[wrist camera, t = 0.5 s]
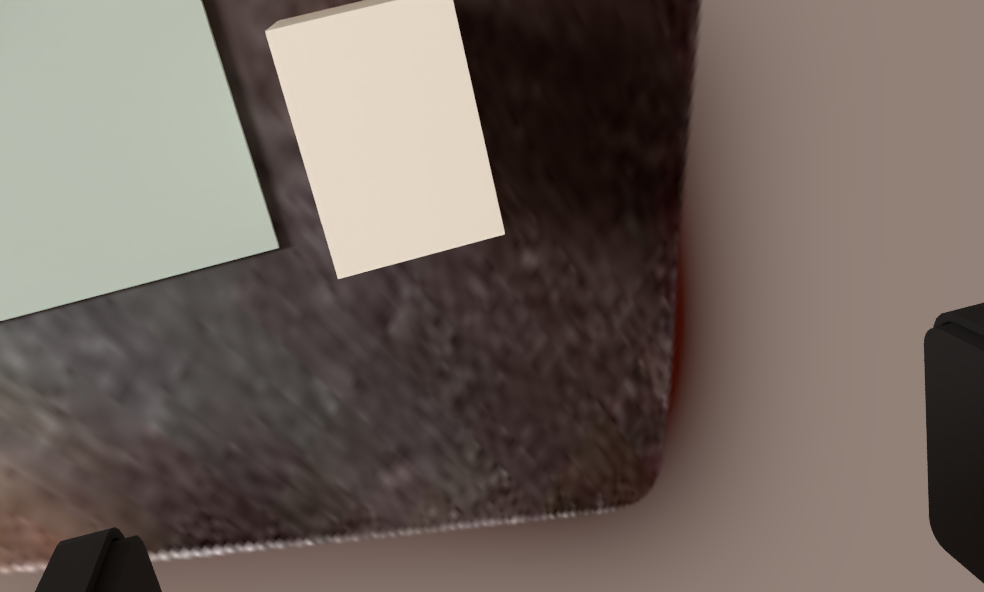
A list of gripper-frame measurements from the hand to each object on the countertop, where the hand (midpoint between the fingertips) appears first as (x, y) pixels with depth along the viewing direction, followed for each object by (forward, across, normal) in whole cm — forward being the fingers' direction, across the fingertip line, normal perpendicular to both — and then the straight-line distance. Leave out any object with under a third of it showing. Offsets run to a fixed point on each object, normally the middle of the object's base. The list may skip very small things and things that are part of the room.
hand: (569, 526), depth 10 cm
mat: (+28, +13, -3) cm, 31 cm away
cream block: (+28, 0, -2) cm, 29 cm away
